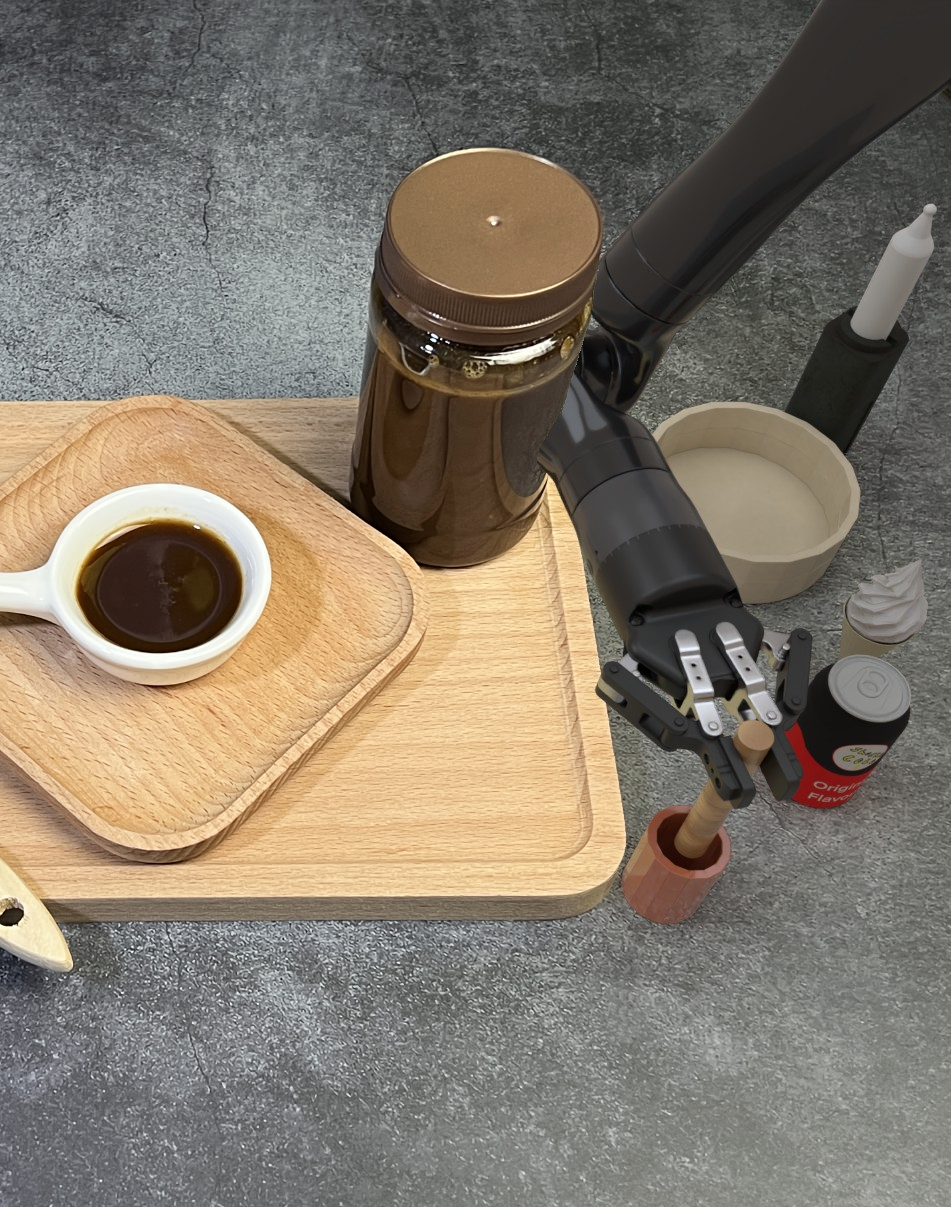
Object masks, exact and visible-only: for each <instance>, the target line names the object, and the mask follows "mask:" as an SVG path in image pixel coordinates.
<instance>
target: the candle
mask: <svg viewBox="0 0 951 1207" xmlns="http://www.w3.org/2000/svg"><path fill="white" fill-rule="evenodd" d="M922 211H923V212H921V214H920V215H918V216H917V218H916V219H914V220H913V222H912V223H910V224H909V225H908V226H907V227H904V228H902V229H900V230H898V231H896V232H895V233H894V234H893V235H892V237H891V239H890V241H889V243H888V245H887V246H886V249H885V251H884V252H883V255H882V257H881V259H880V261H879V263H878V265H877V266H876V269H875V271H874V273H873V275H872V277H871V279H870V281H869V283H868V286H867V287H866V289H865V291H864V292H863V296H862V297H861V300H860V301H859V303H858V305H855V306H851V307H850V308H848V310H846V311H843V312H842V313H841V314H840V315H838V316H837V317H835V318H833V319H831V320H830V321H828V322H827V323H826V324H825V325H824V328H823V330H822V332H821V334H820V336H819V338H818V341H817V343H816V345H815V346H814V349H813V351H812V353H811V355H810V357H809V360H808V361H807V364H806V366H805V368H804V370H803V372H802V373H801V376H800V378H799V380H798V383H797V385H796V387H795V388H794V390H793V392H792V395H791V397H790V399H789V401H788V403H787V406H786V408H785V410H784V412H785V413H788V414H790V415H792V416H794V417H796V418H799V419H801V420H803V421H805V422H807V423H809V424H810V425H812V426H813V427H814V428H816V429H817V430H818V431H820V432H821V433H822V434H823V435H825V436H826V437H827V438H829V439H830V440H831V441H833V442H834V443H835V444H836V446H837V447H838V448H839V450H840V451H841V452H842V453H843V455H847V454H848V453H849V452H850V450H851V448H852V446H853V444H854V442H855V441H856V439H857V437H858V435H859V433H860V431H861V430H862V428H863V426H864V424H865V422H866V421H867V418H868V417H869V415H870V413H871V412H872V410H873V408H874V406H875V404H876V402H877V401H878V398H879V397H880V395H881V393H882V391H883V390H884V387H885V386H886V384H887V382H888V380H889V379H890V376H891V375H892V373H893V371H894V369H895V367H896V366H897V364H898V362H899V360H900V358H901V356H902V355H903V353H904V351H905V349H906V348H907V345H908V344H909V341H910V336H909V334H908V332H907V331H906V330H905V329H904V328H902V326H901V323H900V322H899V320H898V318H899V316H900V315H901V312H902V311H903V308H904V307H905V305H906V303H907V301H908V300H909V297H910V296H911V293H912V292H913V290H914V288H915V286H916V284H917V283H918V281H919V278H920V277H921V275H922V274H923V271H924V268H925V267H926V265H927V264H928V262H929V260H930V258H931V256H932V254H933V252H934V250H935V244H934V243H935V242H934V239H933V236H932V234H931V233H932V225H933V216H934V215H935V214H937V206H936V205H935V204H934V203H928V204H925V205H924V206H923V210H922Z"/></svg>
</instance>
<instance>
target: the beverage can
mask: <svg viewBox="0 0 951 1207" xmlns="http://www.w3.org/2000/svg"><path fill="white" fill-rule="evenodd" d="M911 702H912V690H911V686H910V684H909V682H908V680H907V679H906V677H905V676H904V674H903V673H902V672H901V671H900V670H899V669H898V668H897V667H896V666H894V665H893V664H891V663H889V662H888V661H886V660H884V659H882V658H880V657H878V658H877V657H873V656H869V655H851V656H847V657H845V658H842V659H841V660H839V661H838V660H837V661H836V662H833V663H831V664H828V665H827V666H825V667H823V668H822V669H820V670H819V671H818V672H817V673H816V674H815V675H814V676H813V678H812V680H811V681H810V682H809V685H808V697H807V706H806V708H805V709H804V711H803V712H802V713H801V714H800V715H799V717H798V719H797V720H796V723H795V725H794V726H793V728H792V729H791V730H790V731H786V732H785V731H784V732H785V734H786V736H787V738H788V740H789V742H790V744H791V746H792V748H793V750H794V752H795V754H796V756H797V758H798V760H799V761H800V763H801V765H802V767H803V778H802V779H801V781H800V787H799V789H798V790H797V792H796V793H795V795H794V796H793V798H792V799H791V800H793V801H795V802H797V803H799V804H801V805H804V806H807V807H812V808H818V809H828V808H834V807H838V806H840V805H843V804H844V803H846V802H848V801H849V800H850V799H851V798H852V797H853V796H854V795H855V794H856V792H857V791H858V790H859V789H860V788H861V786H862V785H863V784H864V782H865V781H866V780H867V779H868V777H869V776H870V775H871V773H872V772H873V771H874V770H875V768H877V766H878V764H879V763H880V762H881V761H882V759H883V758H884V757H885V755H886V754H887V753H888V752H889V751H890V749H891V748H892V747H893V745H894V744H895V742H896V741H897V740H898V739H899V738H900V737H901V735H902V734H903V733H904V732H905V730H906V729H907V727H908V726H909V722H910V718H911Z"/></svg>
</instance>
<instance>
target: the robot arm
mask: <svg viewBox="0 0 951 1207" xmlns="http://www.w3.org/2000/svg"><path fill="white" fill-rule="evenodd" d="M937 96H939V97H940V98H942V99H943V101H945V102H946V103H947V104H948V105H949V106H950V107H951V0H820V1H819V2H818V4H817V6H816V7H815V9H814V10H813V11H812V13H811V15H810V17H809V18H808V19H807V21H806V22H805V24H804V26H803V27H802V29H801V30H800V32H799V33H798V35H797V37H796V38H795V40H794V41H793V43H792V44H791V45H790V47H789V49H788V50H787V52H786V54H785V55H784V56H783V58H782V59H781V61H780V62H779V64H778V66H777V67H776V68H775V70H774V71H773V72H772V73H771V75H770V76H769V77H768V79H767V81H766V82H765V83H764V84H763V86H762V87H761V88H760V90H759V91H758V92H757V93H756V95H754V97H753V98H752V99H751V101H750V102H749V103H748V104H747V105H746V107H745V108H744V109H743V110H742V112H741V113H740V114H739V115H738V116H737V117H736V118H735V119H734V120H733V121H732V122H731V123H730V125H729V126H727V128H726V129H725V130H724V131H722V133H721V134H720V135H719V136H718V137H717V138H716V139H715V140H714V141H713V142H712V143H711V144H709V145H708V147H706V148H705V149H704V150H703V151H702V152H701V153H700V154H699V155H697V157H695V159H693V161H691V162H689V164H688V165H687V166H685V167H684V168H683V169H682V171H681V172H679V173H678V174H677V175H676V176H675V177H674V178H673V179H672V180H670V182H669V183H668V184H667V185H666V186H665V187H664V188H662V190H661V191H660V192H658V194H657V195H656V196H655V197H653V199H652V200H651V201H650V202H649V203H648V204H647V205H646V206H645V207H644V208H643V209H642V210H641V212H640V213H639V214H638V215H637V216H636V217H635V218H634V219H633V220H632V221H631V223H630V224H629V225H628V226H627V228H625V229H624V231H622V233H621V234H620V235H619V236H618V238H616V239H615V241H614V242H612V244H611V245H610V247H609V248H608V249H607V250H605V252H604V253H603V254H602V255H601V257H599V259H600V260H599V259H598V260H599V271H598V274H597V280H596V284H595V289H594V299H593V307H592V310H591V313H590V315H591V317H592V318H593V319H594V320H595V321H596V323H597V324H598V326H596V327H594V328H593V329H592V328H587V331H586V333H585V337H584V341H583V345H582V347H581V351H580V353H579V358H578V361H577V365H576V367H575V370H574V372H573V376H572V378H571V383H570V385H569V389H568V393H567V398H566V400H565V404H564V405H563V407H564V408H563V410H562V415H561V412H560V413H559V415H558V418H557V420H556V422H554V424H553V426H552V428H551V429H550V430H549V433H548V436H546V438H545V440H544V442H543V444H542V446H541V447H540V450H539V453H538V457H537V463H536V464H537V465H538V466H539V467H540V468H541V469H542V471H544V472H545V473H546V475H548V477H549V478H550V479H551V480H552V481H553V484H554V485H555V488H556V490H557V493H558V495H559V497H560V500H561V503H562V504H563V507H564V509H565V511H566V513H567V515H568V518H569V520H570V523H571V524H572V526H573V529H574V531H575V535H576V537H577V542H578V545H579V549H580V553H581V555H582V557H583V560H584V562H585V567H586V570H587V573H588V574H589V576H590V577H591V579H592V580H593V582H594V584H595V586H596V589H597V591H598V593H599V595H600V597H601V600H602V601H603V604H604V606H605V608H606V611H607V613H608V615H609V618H610V620H611V621H612V623H613V626H614V628H615V630H616V631H615V632H616V633H617V635H618V636H619V638H620V640H621V641H622V643H623V648H622V657H621V658H620V659H619V660H618V661H614V660H611V661H607V662H606V663H605V664H604V665H603V668H602V670H601V672H600V674H599V678H598V680H597V683H596V685H595V687H594V693H595V695H596V696H597V697H598V698H599V699H601V701H603V702H604V703H605V704H606V705H607V706H609V708H612V710H614V711H615V712H616V713H617V714H618V715H620V717H622V718H623V719H624V720H626V721H627V722H628V723H629V724H631V725H632V726H633V727H634V728H636V729H637V730H638V731H639V732H640V733H642V734H643V735H644V737H646V738H648V739H649V740H650V741H651V742H652V743H653V744H655V745H656V746H657V747H659V748H660V749H661V750H662V751H664V752H666V753H674V752H676V751H677V750H684V751H686V750H687V751H690V752H693V753H694V754H696V755H697V756H698V757H699V759H700V760H701V763H702V765H703V768H704V769H705V771H706V774H707V776H708V779H709V778H710V779H711V782H712V784H713V786H714V789H715V791H716V793H717V795H718V796H719V797H720V798H721V799H722V800H723V801H730V803H731V805H732V807H733V809H734V810H738V809H746V808H749V807H750V805H751V804H752V803H753V800H754V799H755V798H756V796H757V788H756V785H755V783H754V781H753V779H752V778H753V777H752V778H751V776H750V774H749V772H748V770H747V768H746V766H745V764H744V762H743V760H742V758H741V756H740V754H739V752H738V750H737V749H736V747H735V745H734V743H733V739H732V738H733V736H732V735H724V731H725V727H724V726H725V725H724V723H723V721H722V718H721V716H720V713H719V710H718V708H717V705H716V701H715V698H718V699H719V701H721V703H722V705H723V707H724V709H725V710H726V712H727V713H728V714H729V716H731V717H735V718H736V720H737V721H738V723H739V725H740V724H741V723H743V722H745V721H748V720H757V721H760V722H763V723H764V724H766V725H767V726H768V727H769V728H770V729H771V730H772V732H773V734H774V743H773V745H772V746H771V748H770V750H769V751H768V753H767V754H766V756H765V758H764V759H763V761H762V762H761V764H760V766H759V767H758V768H759V769H760V771H761V773H762V775H763V777H764V779H765V781H766V783H767V786H768V787H769V789H770V791H771V794H772V795H773V797H774V799H775V800H776V801H777V802H783V801H788V800H793V799H792V798H793V796H794V795H795V793H796V792H797V790H798V789H799V787H800V781H801V779H802V778H803V767H802V765H801V763H800V761H799V760H798V758H797V756H796V754H795V752H794V750H793V748H792V746H791V744H790V742H789V740H788V738H787V736H786V734H785V732H786V731H790V730H791V729H792V728H793V726H794V725H795V723H796V720H797V719H798V717H799V715H800V714H801V713H802V712H803V711H804V709H805V708H806V706H807V697H808V686H809V685H810V672H811V661H812V650H813V641H814V640H813V639H814V638H813V634H812V633H811V632H810V630H807V629H805V628H802V627H801V628H800V627H798V628H795V629H793V630H792V632H791V633H790V634H786V633H784V632H783V633H782V632H778V631H774V630H769V629H766V628H764V625H763V624H762V622H761V620H760V619H759V617H757V616H755V615H754V614H753V613H751V612H750V611H749V610H748V609H747V608H746V607H745V605H744V603H742V600H741V596H740V593H739V590H738V587H737V585H736V583H735V581H734V579H733V577H732V575H731V573H730V571H729V569H728V567H727V566H726V564H725V562H724V560H723V558H722V556H721V554H720V552H719V550H718V548H717V547H716V545H715V543H714V541H713V539H712V537H711V535H710V533H709V531H708V529H707V528H706V526H705V524H704V522H703V520H702V518H701V516H700V514H699V513H698V511H697V509H696V507H695V505H694V504H693V502H692V500H691V499H690V498H689V496H688V495H687V494H686V492H685V491H684V490H683V489H682V487H681V486H680V484H679V483H678V481H677V479H676V478H675V476H674V474H673V472H672V470H671V468H670V466H669V464H668V462H667V460H666V459H665V457H664V455H663V453H662V451H661V449H660V447H659V445H658V443H657V441H656V440H655V438H654V436H653V435H652V434H653V432H651V431H650V429H649V428H648V427H647V426H646V425H645V424H644V423H643V422H642V421H641V420H639V419H638V418H636V417H635V416H633V415H631V414H629V413H630V412H631V411H632V410H633V408H635V406H636V405H637V404H638V403H639V400H641V398H642V397H643V394H644V392H645V390H646V388H647V387H648V385H649V383H650V381H651V380H652V378H653V377H654V374H655V373H656V371H657V369H658V368H659V366H660V364H661V363H662V361H663V359H664V357H665V356H666V354H667V352H668V349H669V348H670V346H671V344H672V342H673V340H674V339H675V337H676V335H677V333H678V332H679V331H680V330H681V329H682V328H683V327H685V325H686V324H688V323H689V321H691V319H692V318H693V317H694V316H695V315H697V313H699V312H700V310H702V308H704V307H705V306H706V304H708V303H709V302H710V301H711V300H712V299H713V298H714V297H715V296H716V294H717V293H718V292H720V291H721V290H722V289H723V288H724V287H725V285H726V284H728V282H730V280H731V279H732V278H733V277H734V276H735V275H737V273H738V272H739V271H740V270H741V269H742V268H743V267H744V266H745V265H746V263H747V262H749V260H750V259H751V258H752V257H753V256H754V255H756V253H757V252H758V251H759V250H760V249H761V247H763V245H764V244H765V243H766V242H767V241H768V240H769V239H770V238H771V237H772V236H773V234H775V233H776V231H777V230H778V229H779V228H780V227H782V225H783V224H784V223H785V222H787V220H788V219H789V218H790V217H791V216H792V215H793V213H795V211H796V210H798V209H799V207H801V205H803V203H804V202H805V201H807V199H808V198H809V197H811V196H812V195H813V194H814V193H815V192H816V191H817V190H818V189H819V188H821V187H822V186H823V185H824V184H825V183H826V182H827V181H828V180H829V179H831V178H832V177H833V176H834V175H835V174H836V173H838V171H840V170H841V169H842V168H843V167H844V166H846V165H847V164H848V163H849V162H850V161H852V159H854V158H855V157H856V156H858V155H859V154H860V153H862V152H863V151H864V150H865V149H866V148H867V147H868V146H870V145H871V144H873V143H874V142H875V141H876V140H878V139H879V138H880V137H882V136H883V135H884V134H886V133H887V132H888V131H890V130H891V129H893V128H894V127H895V126H897V125H898V124H899V123H901V122H902V121H903V120H905V119H907V117H909V116H910V115H912V114H913V113H914V112H916V111H917V110H919V109H920V108H921V107H923V106H924V105H925V104H927V103H928V102H929V101H931V100H932V99H933V98H935V97H937ZM561 409H562V408H561ZM760 651H761V652H763V653H764V654H765V656H766V658H767V663H768V665H769V669H770V670H771V671H773V672H776V681H775V688H774V689H775V690H774V700H773V698H772V697H771V695H770V693H769V691H768V689H767V681H766V678H765V676H764V675H763V673H762V672H761V670H760V668H759V667H758V665H757V662H758V659H759V654H760ZM645 681H647V682H648V683H650V684H651V685H653V686H654V687H656V688H658V689H659V690H661V692H663V693H665V694H666V695H668V698H669V700H670V702H668V701H667V700H666V699H665V698H663V697H662V696H661V695H660V694H658V693H657V692H656V691H655V690H653V689H652V688H651V687H649V685H647V684H646V683H645ZM784 731H785V732H784Z"/></svg>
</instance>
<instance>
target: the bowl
mask: <svg viewBox="0 0 951 1207" xmlns="http://www.w3.org/2000/svg"><path fill="white" fill-rule="evenodd" d="M652 435H653V436H654V438H655V440H656V441H657V443H658V445H659V447H660V449H661V451H662V453H663V455H664V457H665V459H666V460H667V462H668V464H669V466H670V468H671V470H672V472H673V474H674V476H675V478H676V479H677V481H678V483H679V484H680V486H681V487H682V489H683V490H684V491H685V492H686V494H687V495H688V496H689V498H690V499H691V500H692V502H693V504H694V505H695V507H696V509H697V511H698V513H699V514H700V516H701V518H702V520H703V522H704V524H705V526H706V528H707V529H708V531H709V533H710V535H711V537H712V539H713V541H714V543H715V545H716V547H717V548H718V550H719V552H720V554H721V556H722V558H723V560H724V562H725V564H726V566H727V567H728V569H729V571H730V573H731V575H732V577H733V579H734V581H735V583H736V585H737V587H738V590H739V593H740V596H741V600H742V603H743V605H744V604H745V605H746V604H747V605H749V604H751V605H755V604H756V605H757V604H768V603H774V602H779V601H782V600H785V599H789V598H792V597H794V596H796V595H798V594H801V593H803V592H804V591H806V590H808V589H809V588H810V587H812V586H813V585H815V583H816V582H818V581H819V580H820V579H821V578H822V577H823V576H824V575H825V572H826V571H827V570H828V569H829V566H830V565H831V564H832V561H833V560H834V559H835V557H836V555H837V554H838V552H839V550H840V548H841V547H842V545H843V544H844V542H845V540H846V538H847V537H848V535H849V534H850V531H851V530H852V528H853V526H854V525H855V523H856V521H857V519H858V518H859V512H860V511H859V510H860V502H861V488H860V485H859V481H858V479H857V476H856V473H855V469H854V467H853V465H852V464H851V462H850V461H849V460H848V459H847V458H846V456H845V454H843V453H842V452H841V451H840V450H839V448H838V447H837V446H836V444H835V443H834V442H833V441H831V440H830V439H829V438H827V437H826V436H825V435H823V434H822V433H821V432H820V431H818V430H817V429H816V428H814V427H813V426H812V425H810V424H809V423H807V422H805V421H803V420H801V419H799V418H796V417H794V416H792V415H790V414H788V413H785V411H783V410H781V409H778V408H775V407H770V406H765V405H761V404H756V403H752V402H747V401H711V402H707V403H703V404H698V405H695V406H691V407H686V408H683V409H681V410H680V411H678V412H676V413H675V414H674V415H672V416H671V417H669V418H667V419H666V420H663V421H662V422H661V423H659V424H658V426H657V427H656V429H655V430H654V431H653V432H652Z"/></svg>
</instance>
